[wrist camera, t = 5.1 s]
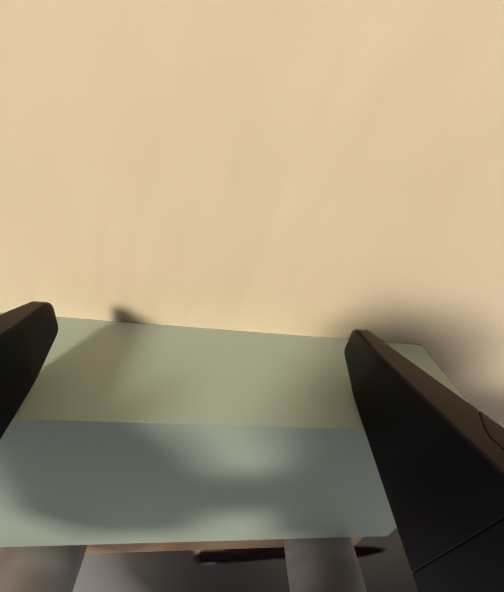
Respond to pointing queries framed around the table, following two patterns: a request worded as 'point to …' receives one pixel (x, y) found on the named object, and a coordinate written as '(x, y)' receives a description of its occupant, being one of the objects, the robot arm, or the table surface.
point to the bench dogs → (299, 552)
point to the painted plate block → (191, 440)
